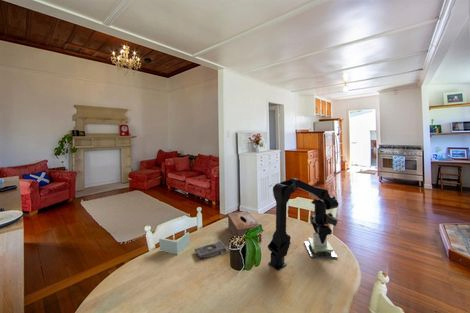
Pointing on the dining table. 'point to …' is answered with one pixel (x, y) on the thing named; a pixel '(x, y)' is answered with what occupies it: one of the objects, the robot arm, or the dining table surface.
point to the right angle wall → (174, 244)
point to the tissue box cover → (241, 223)
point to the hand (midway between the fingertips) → (319, 239)
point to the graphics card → (211, 250)
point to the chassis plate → (320, 253)
